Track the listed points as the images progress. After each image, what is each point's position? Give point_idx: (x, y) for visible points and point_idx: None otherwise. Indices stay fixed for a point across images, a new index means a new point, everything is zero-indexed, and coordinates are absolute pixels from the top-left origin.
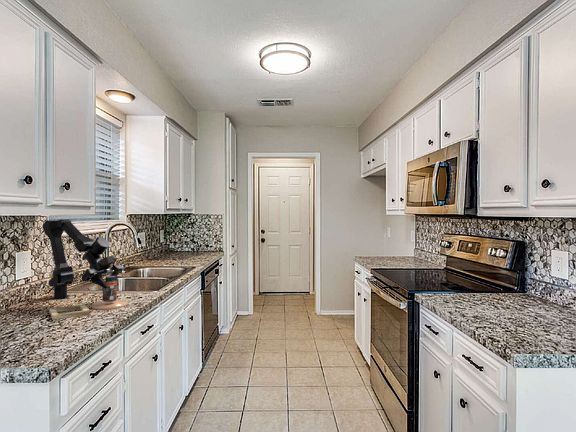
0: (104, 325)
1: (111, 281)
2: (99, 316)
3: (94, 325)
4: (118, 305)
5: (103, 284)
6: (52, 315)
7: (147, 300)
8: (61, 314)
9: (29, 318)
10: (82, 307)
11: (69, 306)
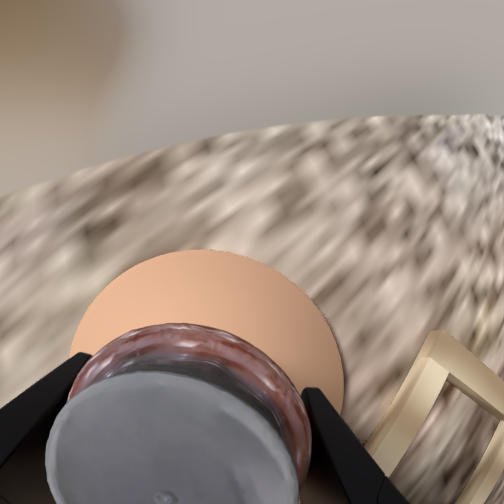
0: (473, 143)
1: (235, 379)
2: (431, 245)
3: (491, 177)
4: (240, 270)
5: (349, 441)
6: None
7: (15, 214)
8: None
9: None
10: (403, 447)
11: None
